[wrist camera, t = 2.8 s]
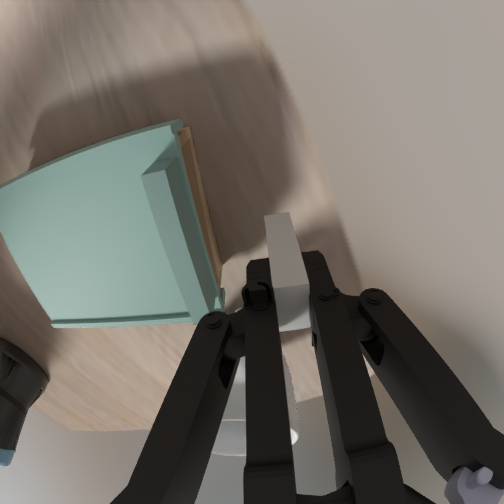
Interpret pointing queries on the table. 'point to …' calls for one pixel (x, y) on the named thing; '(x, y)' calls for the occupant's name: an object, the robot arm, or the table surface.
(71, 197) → the lid
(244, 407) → the mug
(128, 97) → the table surface
